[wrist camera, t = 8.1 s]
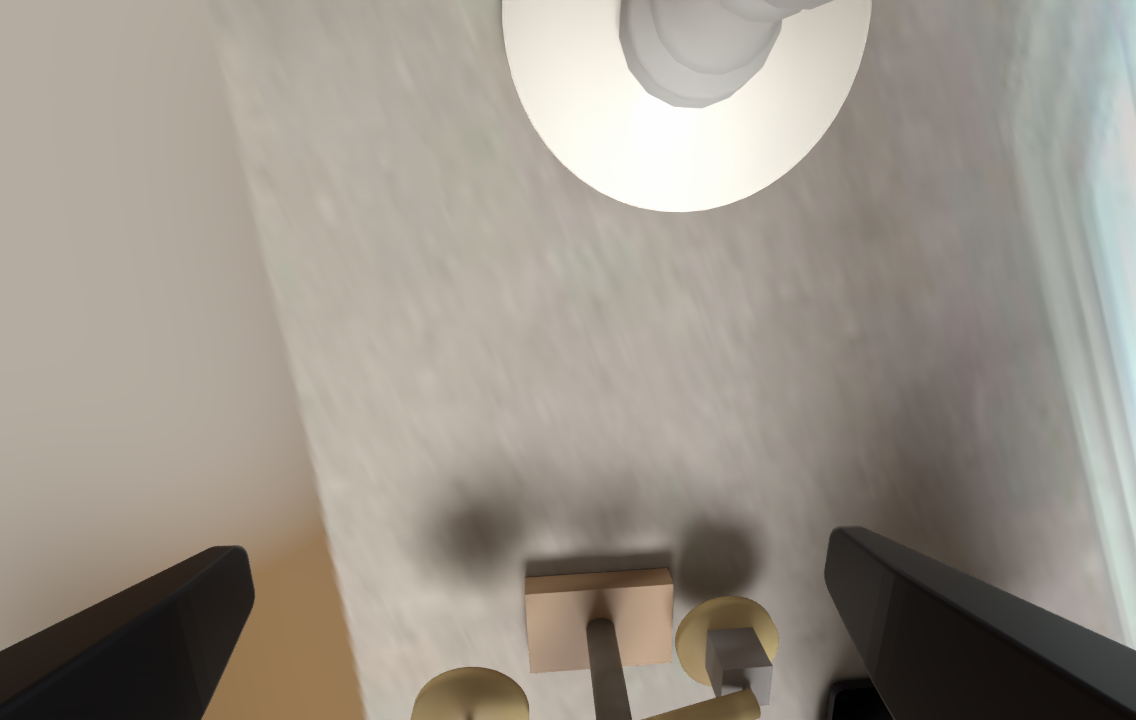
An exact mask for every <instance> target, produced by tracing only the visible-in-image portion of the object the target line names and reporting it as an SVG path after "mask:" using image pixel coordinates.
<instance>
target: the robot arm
mask: <svg viewBox="0 0 1136 720" xmlns="http://www.w3.org/2000/svg"><path fill="white" fill-rule="evenodd" d="M824 575H825V582H826V585H827V588H828V591H829V593H830V595H831V597H832V599H833V601H834V603H835V605H836V607H837V610H838V612H839V614H840V616H841V618H842V620H843V622H844V624H845V626H846V629H847V631H848V633H849V635H850V637H851V639H852V641H853V643H854V645H855V647H856V650H857V652H858V654H859V656H860V658H861V660H862V662H863V664H864V666H865V668H866V670H867V672H868V674H869V676H870V678H871V679H868V680H856V681H843V682H838V683H836V684H834V685H833V686H832V687H831V690H830V695H829V702H828V709H827V716H826V720H1136V650H1133V649H1131V648H1129V647H1127V646H1125V645H1122V644H1120V643H1118V642H1116V641H1114V640H1111V639H1109V638H1107V637H1105V636H1103V635H1100V634H1098V633H1096V632H1094V631H1092V630H1089V629H1087V628H1085V627H1083V626H1080V625H1078V624H1076V623H1074V622H1072V621H1069V620H1067V619H1065V618H1063V617H1061V616H1058V615H1056V614H1054V613H1052V612H1050V611H1047V610H1045V609H1043V608H1041V607H1039V606H1036V605H1034V604H1032V603H1030V602H1027V601H1025V600H1023V599H1021V598H1019V597H1016V596H1014V595H1012V594H1010V593H1008V592H1005V591H1003V590H1001V589H999V588H997V587H994V586H992V585H990V584H988V583H986V582H983V581H981V580H979V579H977V578H974V577H972V576H970V575H968V574H966V573H963V572H961V571H959V570H957V569H955V568H952V567H950V566H948V565H946V564H944V563H941V562H939V561H937V560H935V559H933V558H930V557H928V556H926V555H924V554H921V553H919V552H917V551H915V550H913V549H910V548H908V547H906V546H904V545H902V544H899V543H897V542H895V541H893V540H891V539H888V538H886V537H884V536H882V535H879V534H877V533H875V532H873V531H871V530H868V529H866V528H864V527H861V526H842V527H836V528H834V529H833V530H832V532H831V534H830V538H829V544H828V551H827V557H826V564H825V571H824ZM254 599H255V589H254V584H253V579H252V574H251V569H250V564H249V559H248V554H247V552H246V550H245V549H244V548H243V547H242V546H238V545H236V546H235V545H234V546H214V547H211V548H208V549H206V550H204V551H202V552H200V553H198V554H196V555H194V556H192V557H190V558H188V559H186V560H184V561H182V562H180V563H178V564H176V565H174V566H172V567H170V568H168V569H166V570H164V571H162V572H160V573H158V574H156V575H154V576H152V577H150V578H148V579H145V580H144V581H142V582H139V583H137V584H135V585H133V586H131V587H129V588H127V589H125V590H123V591H121V592H120V593H117V594H115V595H113V596H111V597H109V598H107V599H105V600H103V601H101V602H99V603H97V604H95V605H93V606H91V607H89V608H87V609H85V610H83V611H81V612H79V613H77V614H75V615H73V616H71V617H69V618H66V619H64V620H62V621H60V622H58V623H56V624H54V625H52V626H50V627H48V628H46V629H44V630H42V631H40V632H38V633H36V634H34V635H32V636H30V637H28V638H26V639H24V640H22V641H20V642H18V643H16V644H14V645H12V646H10V647H8V648H6V649H4V650H2V651H0V720H201V719H202V717H203V715H204V713H205V711H206V709H207V707H208V705H209V703H210V700H211V698H212V696H213V695H214V692H215V690H216V688H217V686H218V683H219V681H220V679H221V676H222V675H223V672H224V670H225V668H226V666H227V664H228V661H229V659H230V657H231V655H232V652H233V650H234V648H235V646H236V644H237V642H238V639H239V637H240V635H241V633H242V630H243V628H244V626H245V624H246V622H247V619H248V617H249V615H250V613H251V610H252V608H253V604H254Z"/></svg>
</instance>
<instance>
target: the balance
mask: <svg viewBox="0 0 1136 720" xmlns="http://www.w3.org/2000/svg"><path fill="white" fill-rule="evenodd" d="M525 604H526V619H527V633H528V647H529V662H530V673H542V672H555V671H568V670H581V669H590V670H591V678H592V687H593V695H594V704H595V712H596V720H632V717H631V712H630V707H629V701H628V696H627V690H626V685H625V680H624V674H623V669H622V666H633V665H646V664H659V663H671V653H672V618H673V582H672V579H671V576H670V573H669V571H668V568H659V569H644V570H629V571H615V572H600V573H586V574H571V575H556V576H542V577H527V578H525ZM778 644H779V637H778V632H777V628H776V626H775V624H774V623H773V621H772V619H771V617H770V616H769V614H768V612H767V611H766V610H765V609H764V608H763V607H762V606H761V605H760V604H758V603H757V602H755V601H753V600H750V599H748V598H744V597H739V596H724V597H718V598H714V599H711V600H708V601H706V602H704V603H702V604H700V605H698V606H697V607H695V608H694V609H693V610H691V611H690V612H689V613H688V614H687V615H686V616H685V618H684V619H683V620H682V622H681V623H680V625H679V627H678V630H677V633H676V638H675V647H676V651H677V654H678V658H679V661H680V663H681V666H682V668H683V669H684V671H685V672H686V673H687V674H688V675H689V676H690V677H691V678H692V679H694V680H695V681H697V682H699V683H701V684H704V685H707V686H712V687H713V690H714V693H715V696H716V698H713V699H710V700H707V701H703V702H700V703H696V704H693V705H690V706H686V707H683V708H679V709H676V710H673V711H669V712H666V713H663V714H659V715H656V716H652V717H649V718H646V719H642V720H755V719H758V718H760V714H761V713H760V707H759V706H763V705H769V699H770V688H771V678H772V668H773V666H772V664H771V662H772V660H773V659H774V657H775V655H776V652H777V649H778ZM411 720H529V704H528V700H527V697H526V695H525V693H524V691H523V690H522V688H521V687H520V686H519V685H518V684H517V683H516V682H515V681H514V680H512V679H511V678H510V677H508V676H506V675H505V674H503V673H500V672H498V671H495V670H492V669H488V668H482V667H463V668H457V669H453V670H450V671H447V672H444V673H442V674H440V675H438V676H436V677H435V678H433V679H432V680H430V681H429V682H428V683H427V684H426V685H425V686H424V687H423V688H422V689H421V691H420V692H419V694H418V696H417V698H416V700H415V704H414V708H413V712H412V716H411Z"/></svg>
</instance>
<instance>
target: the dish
mask: <svg viewBox="0 0 1136 720" xmlns="http://www.w3.org/2000/svg"><path fill="white" fill-rule="evenodd" d="M620 6H621V0H502V23H503V32H504V40H505V48H506V54H507V58H508V62H509V67H510V71H511V75H512V79H513V82H514V85H515V88H516V90H517V93H518V96H519V99H520V101H521V104H522V106H523V108H524V110H525V112H526V114H527V116H528V118H529V120H530V122H531V124H532V126H533V127H534V129H535V130H536V132H537V133H538V135H539V136H540V138H541V139H542V141H543V142H544V144H545V145H546V147H547V148H548V149H549V150H550V151H551V152H552V153H553V155H554V156H555V157H556V158H557V159H558V160H559V161H560V162H561V164H562V165H563V166H565V167H566V168H567V169H568V170H569V171H570V172H572V173H573V174H574V175H575V176H576V177H577V178H578V179H580V180H581V181H583V182H584V183H586V184H587V185H589V186H590V187H592V188H593V189H595V190H596V191H598V192H600V193H602V194H604V195H606V196H608V197H610V198H612V199H614V200H616V201H619V202H622V203H625V204H628V205H632V206H635V207H638V208H644V209H649V210H655V211H666V212H690V211H699V210H707V209H711V208H715V207H719V206H723V205H728V204H730V203H733V202H735V201H738V200H740V199H743V198H746V197H748V196H750V195H752V194H754V193H756V192H757V191H759V190H761V189H763V188H765V187H767V186H769V185H770V184H771V183H773V182H774V181H776V180H777V179H778V178H780V177H781V176H783V175H784V174H785V173H787V172H788V171H789V170H790V169H791V168H793V167H794V166H795V165H796V164H797V163H798V162H799V161H800V160H801V159H802V158H803V157H805V156H806V155H807V153H808V152H809V151H810V150H811V149H812V148H813V147H814V145H815V144H816V143H817V142H818V141H819V140H820V138H821V137H822V136H823V135H824V133H825V132H826V130H827V129H828V127H829V126H830V124H831V123H832V122H833V120H834V119H835V117H836V116H837V114H838V112H839V110H840V108H841V106H842V105H843V103H844V101H845V99H846V97H847V95H848V93H849V91H850V89H851V86H852V84H853V81H854V79H855V76H856V74H857V71H858V69H859V66H860V62H861V59H862V55H863V52H864V48H865V45H866V41H867V35H868V29H869V23H870V17H871V6H872V0H833V1H831V2H828V3H826V4H823V5H821V6H818V7H816V8H813V9H811V10H807V9H802V10H801V11H800V12H799V13H797V14H794V15H792V16H789V17H787V18H784V19H782V27H781V32H780V34H779V36H778V38H777V40H776V42H775V44H774V46H773V48H772V50H771V52H770V54H769V56H768V58H767V60H766V62H765V64H764V66H763V67H762V68H761V69H760V70H759V71H758V72H757V73H756V74H755V75H754V76H753V77H752V78H751V79H750V80H749V81H748V82H747V83H746V84H745V85H744V86H743V87H741V88H740V89H739V90H737V91H736V92H735V93H734V94H733V95H732V96H731V97H730V98H727V99H725V100H722V101H720V102H717V103H715V104H712V105H710V106H707V107H705V108H702V109H701V108H681V107H672V106H670V105H668V104H667V103H665V102H663V101H661V100H659V99H657V98H655V97H653V96H651V95H650V94H648V93H647V92H646V91H645V90H644V88H643V87H642V86H641V84H640V83H639V82H638V81H637V79H636V78H635V77H634V76H633V74H632V73H631V72H630V71H629V69H628V66H627V63H626V59H625V56H624V53H623V49H622V46H621V43H620V40H619V25H620Z"/></svg>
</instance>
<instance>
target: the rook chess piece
mask: <svg viewBox="0 0 1136 720" xmlns="http://www.w3.org/2000/svg"><path fill="white" fill-rule="evenodd" d="M831 1H833V0H621V6H620V25H619V40H620V43H621V46H622V49H623V53H624V56H625V59H626V63H627V66H628V69H629V71H630V72H631V73H632V74H633V76H634V77H635V78H636V79H637V81H638V82H639V83H640V84H641V86H642V87H643V88H644V90H645V91H646V92H647V93H648V94H650V95H651V96H653V97H655V98H657V99H659V100H661V101H663V102H665V103H667V104H668V105H670V106H672V107H681V108H701V109H702V108H705V107H707V106H710V105H712V104H715V103H717V102H720V101H722V100H725V99H727V98H730V97H731V96H732V95H733V94H734V93H735V92H736V91H737V90H739V89H740V88H741V87H743V86H744V85H745V84H746V83H747V82H748V81H749V80H750V79H751V78H752V77H753V76H754V75H755V74H756V73H757V72H758V71H759V70H760V69H761V68H762V67H763V66H764V64H765V62H766V60H767V58H768V56H769V54H770V52H771V50H772V48H773V46H774V44H775V42H776V40H777V38H778V36H779V34H780V32H781V27H782V19H784V18H787V17H789V16H792V15H794V14H797V13H799V12H800V11H801V10H802V9H807V10H811V9H813V8H816V7H818V6H821V5H823V4H826V3H828V2H831Z"/></svg>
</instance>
